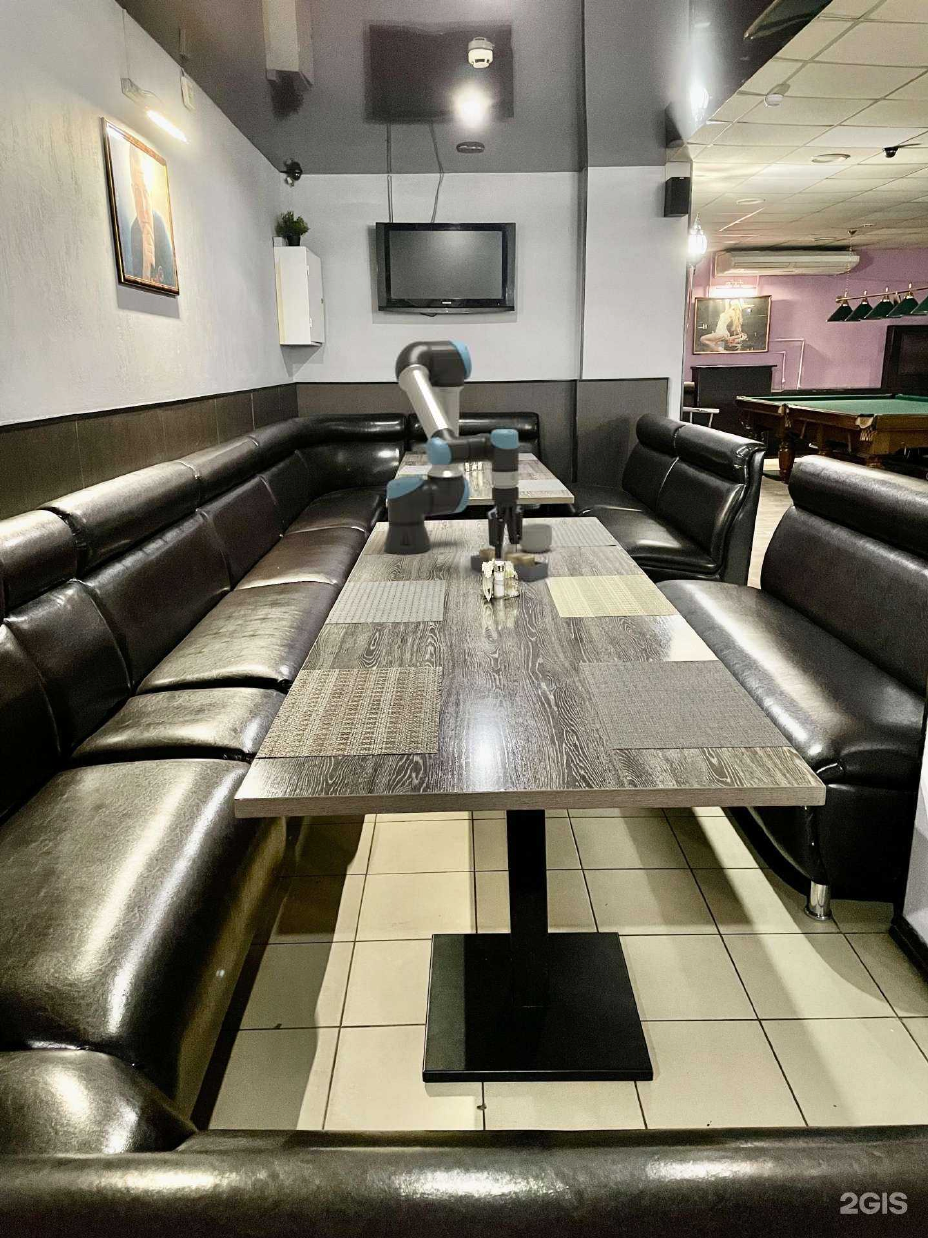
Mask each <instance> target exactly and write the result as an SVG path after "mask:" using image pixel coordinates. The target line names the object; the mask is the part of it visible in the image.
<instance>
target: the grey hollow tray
mask: <svg viewBox="0 0 928 1238" xmlns="http://www.w3.org/2000/svg"><path fill="white" fill-rule="evenodd" d="M514 569H515V570H516V573H517V575H518V579H517V580H518V581H521V582H522V581H523V582H528V583H532V582H537V581H539V580H542V579H543V580H544V579H546V578H548V577H549V563H548V562H543V561H538V560H535V565H534V566H531V567H529V566H523V565H518V564H515V565H514Z"/></svg>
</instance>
